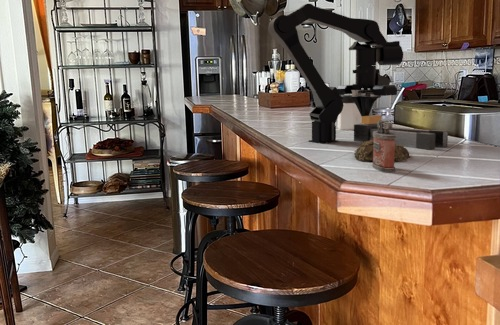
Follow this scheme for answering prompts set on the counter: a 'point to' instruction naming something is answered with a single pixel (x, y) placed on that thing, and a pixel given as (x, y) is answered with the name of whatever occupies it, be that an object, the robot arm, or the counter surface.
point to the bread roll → (366, 149)
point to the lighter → (384, 147)
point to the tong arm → (440, 135)
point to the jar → (348, 114)
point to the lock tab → (371, 119)
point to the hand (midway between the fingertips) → (365, 119)
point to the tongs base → (402, 138)
